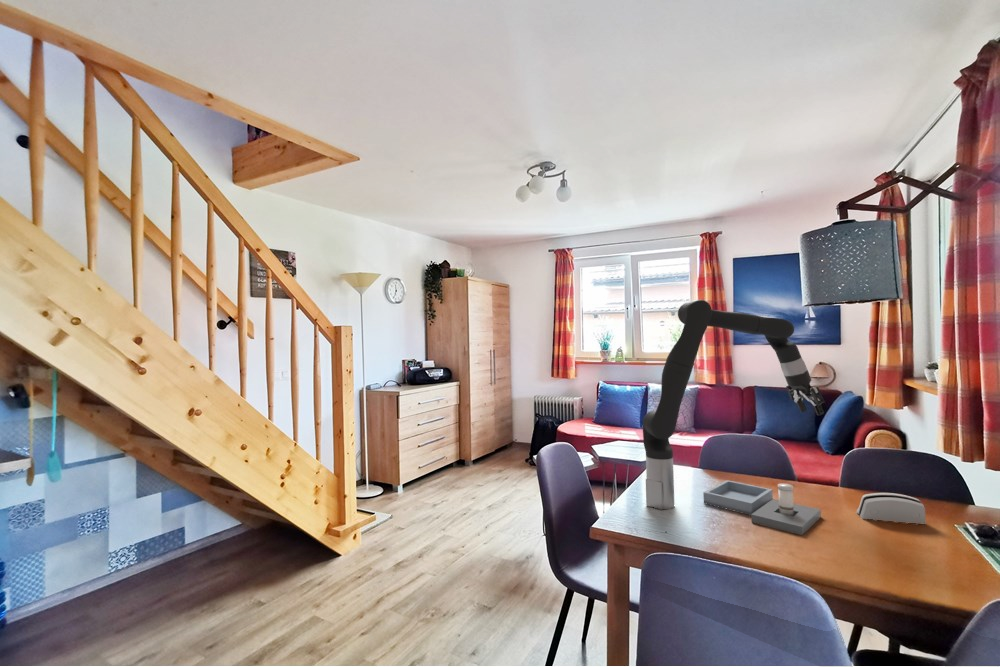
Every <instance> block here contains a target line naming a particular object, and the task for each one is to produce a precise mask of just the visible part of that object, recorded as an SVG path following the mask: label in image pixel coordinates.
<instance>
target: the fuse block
mask: <svg viewBox="0 0 1000 667" xmlns="http://www.w3.org/2000/svg"><path fill="white" fill-rule="evenodd" d="M793 507H794V509H793V510H794V516H789V515H785V514H781V513H779V499H774V498H773V499H772V500H771V501H769V502H768V503H767V504H765V505H764V506H762V507H761V508H759V509H758V510H757V511H755V512H754V513H752V514H751V515H750V517H751V518H750V519H751V522H750V523H753V524H756V525H760V526H765V527H768V528H772V529H776V530H781V531H783V532H787V533H792V534H795V535H799V536H803V535H804V534H805V533H806V532H808V531H809V530H810V528H811V527H813V525H814V524H816V523H817V522H818V520H820V519H821V518H822V512H821V511H822V510H821V508H817V507H811V506H807V505H803V504H797V503H794V502H793Z"/></svg>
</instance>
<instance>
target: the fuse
mask: <svg viewBox="0 0 1000 667" xmlns="http://www.w3.org/2000/svg"><path fill="white" fill-rule="evenodd" d="M777 489H778V500H779V513H781V514H785V515H789V516H794V510H793V509H794V507H793V503H794V486H793V485H792V484H789V483H777Z"/></svg>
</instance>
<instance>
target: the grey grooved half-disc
mask: <svg viewBox="0 0 1000 667" xmlns="http://www.w3.org/2000/svg"><path fill="white" fill-rule="evenodd" d="M856 515H859V518H860V519H861V518H862V519H861V520H867V519H873V520H872V521H877V520H884V521H883V522H887V521H896V522H895V523H898V522H907V523H906V524H908V522H909V523H921V524H926V523H927V522H926V507H925V505H924V504H923V503H922V501H921V500H919V499H918V498H916V497H913V496H909V495H905V494H903V493H902V494H901V493H893V492H874V493H872V492H871V493H866V494H863V495H862V496H861V499H860V503H859V506H858V508H857V509H856ZM926 525H927V524H926Z"/></svg>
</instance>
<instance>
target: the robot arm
mask: <svg viewBox="0 0 1000 667" xmlns="http://www.w3.org/2000/svg"><path fill="white" fill-rule="evenodd" d="M677 318H678V320H679V321H680V322H681V323H682V324H683V327H682V331H681V334H680V336H679V337H678V339H677V341H676V342H675V344H674V346H673V347H672V349H671V350H670V352H669V353H668V355H667V357H666V360H665V363H664V365H663V370H662V373H661V386H660V387H661V388H660V389H661V392H660V393H661V395H660V400H659V403H658V405H657V407H656V410H651V411H648V412H647V413H646V414H645V415H644V417H643V420H642V438H643V447H644V451H645V471H646V472H645V473H646V474H645V475H646V476H645V477H646V478H645V502H646V503H645V504H646V505H647V507H649V508H653V507H654V509H657V508H658V509H657V510H660V509H663V510H668V509H669V508H670V509H673V508H675V506H674V505H675V480H674V479H675V478H674V451H673V448H672V446H671V444H670V440H669V439H670V438H671V437H672V436H673V435H674V433H675V431H676V428H677V423H678V419H679V414H680V408H681V404H682V401H683V398H684V396H685V392H686V390H687V386H688V384H689V380H690V377H691V374H692V371H693V368H694V365H695V361H696V358H697V356H698V352H699V350H700V349H699V348H700V346H701V342H702V341H703V337H704V334H705V333H706V330H707V327H710V328H711V327H712V328H719V329H724V330H729V331H735V332H739V333H744V334H750V335H754V336H755V335H756V336H759V335H761V336H764V338H765V339H766V341H767V343H768V344H769V345H770V347H771V348H772V349H773V351H774V352H775V354H776V357H777V359H778V362H779V364H780V368H781V371H782V374H783V376H784V379H785V381H786V383H787V385H785V387H786V390H787V393H788V397H789V399H790V400H791V401H792V402H793V401H794V403H796V405H797V407H798V410H799V412H800V413H803V412H806V411H807V410H808V409H807V406H806V404H805V402H804V400H803V399H805V400H807V402H809V403H811V404H812V406H813V408H814V411H815V413H816V415H817V416H822V415H824V414H825V411H824V409H823V406H822V404H824V403H825V399H824V397H823V395H822V392H821V390H820V388H819V387H818V386H814V387H813V386H811V382H812V377H811V374H810V373H809V370H808V367H807V365H806V363H805V361H804V359H803V357H802V355H801V353H800V350H799V347H798V346H797V345H796V343H794V342H791V341H790V340H789V338H790V337H792V336H793V335H794V332H795V326H794V325H793V323H792V322H791V321H790V320H788V319H785V318H781V317H780V318H779V317H769V316H768V317H766V316H760V315H756V314H751V313H745V312H736V311H726V310H725V311H724V310H718V309H712V306H711V304H710V303H709V302H708V301H707V300H704V299H696V300H695V299H694V300H690V301H687V302H685V303H683V304H681V305H680V306H679V308H678V311H677Z"/></svg>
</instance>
